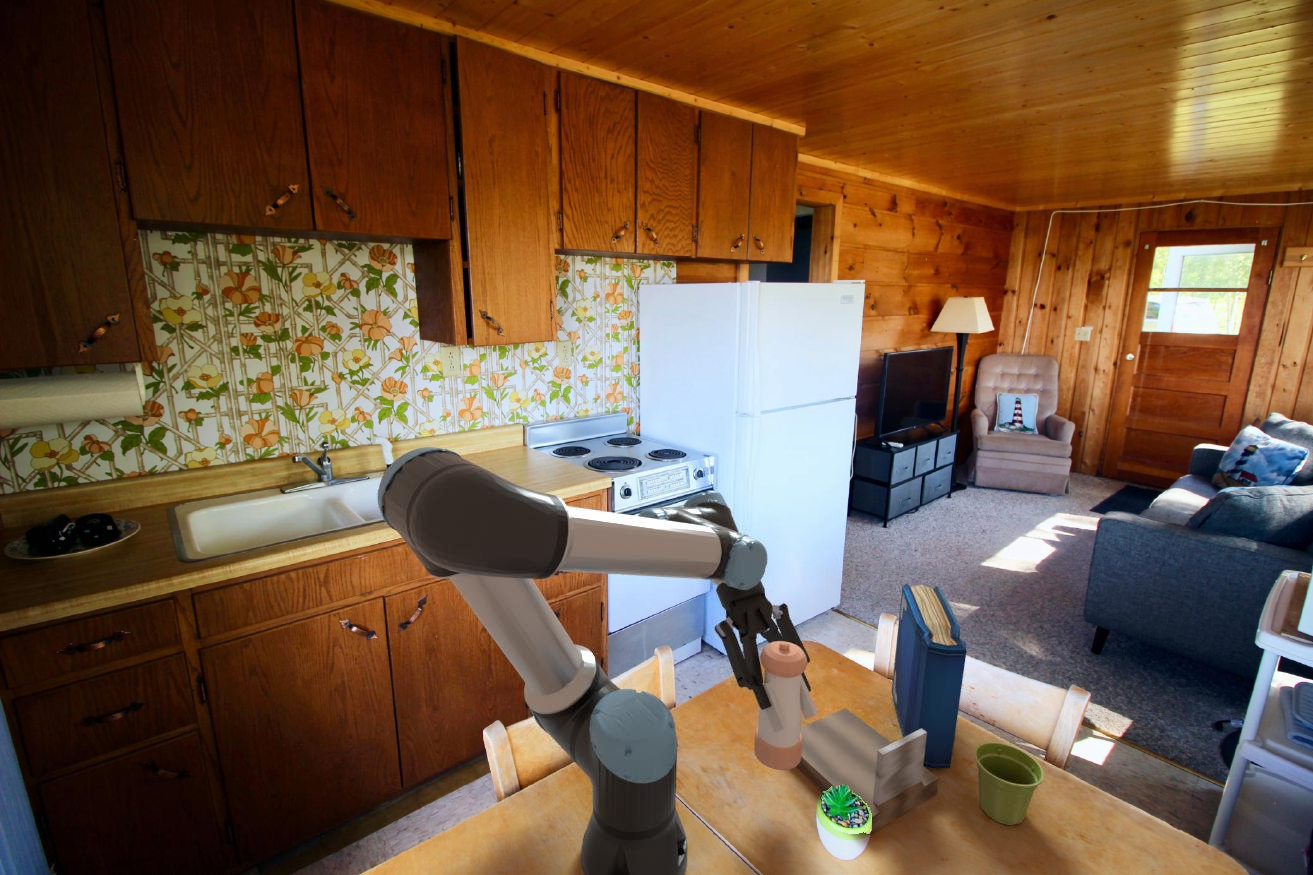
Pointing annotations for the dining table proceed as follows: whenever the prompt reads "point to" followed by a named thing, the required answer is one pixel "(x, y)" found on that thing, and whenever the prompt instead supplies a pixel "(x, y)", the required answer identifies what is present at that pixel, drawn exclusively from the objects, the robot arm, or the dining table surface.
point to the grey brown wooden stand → (867, 765)
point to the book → (928, 671)
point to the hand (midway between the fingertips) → (796, 723)
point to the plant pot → (1006, 781)
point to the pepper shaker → (781, 706)
